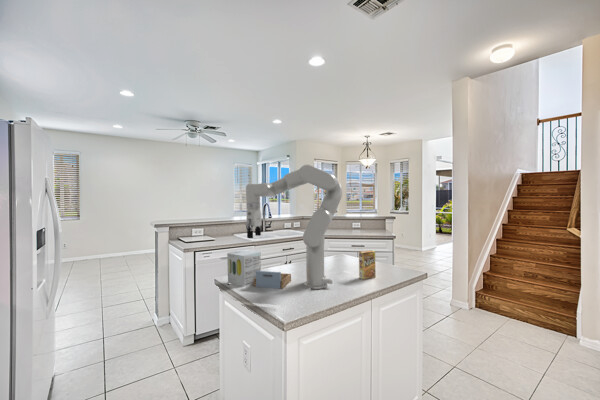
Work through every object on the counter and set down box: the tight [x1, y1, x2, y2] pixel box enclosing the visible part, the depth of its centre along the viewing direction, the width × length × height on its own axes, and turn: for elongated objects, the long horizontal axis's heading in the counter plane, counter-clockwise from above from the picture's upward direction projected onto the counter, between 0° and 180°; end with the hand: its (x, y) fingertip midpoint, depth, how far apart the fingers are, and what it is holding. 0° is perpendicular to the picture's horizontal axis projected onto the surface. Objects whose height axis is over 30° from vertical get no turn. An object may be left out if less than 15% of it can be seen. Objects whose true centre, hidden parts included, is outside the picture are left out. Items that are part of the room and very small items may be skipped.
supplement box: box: [226, 248, 262, 288], centre depth 153 cm, size 13×13×18 cm
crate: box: [253, 272, 292, 290], centre depth 149 cm, size 16×14×5 cm
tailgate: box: [256, 270, 282, 290], centre depth 143 cm, size 13×2×8 cm, turn 74°
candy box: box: [358, 250, 377, 280], centre depth 161 cm, size 9×4×15 cm, turn 113°
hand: (254, 236), depth 155 cm, fingers open, 9 cm apart
